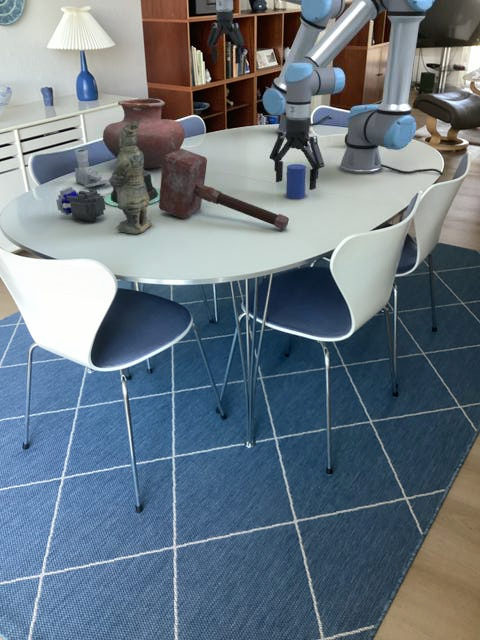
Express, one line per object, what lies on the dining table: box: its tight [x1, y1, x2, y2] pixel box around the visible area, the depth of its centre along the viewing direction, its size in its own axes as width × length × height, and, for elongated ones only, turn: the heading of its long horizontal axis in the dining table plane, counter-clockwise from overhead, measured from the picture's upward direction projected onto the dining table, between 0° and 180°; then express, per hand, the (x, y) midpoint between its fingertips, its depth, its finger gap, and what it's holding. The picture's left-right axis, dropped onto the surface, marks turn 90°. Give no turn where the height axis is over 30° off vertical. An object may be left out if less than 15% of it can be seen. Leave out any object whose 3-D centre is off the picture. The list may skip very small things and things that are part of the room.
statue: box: [108, 121, 153, 235], centre depth 154 cm, size 11×9×30 cm
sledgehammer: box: [158, 148, 290, 231], centre depth 163 cm, size 17×10×40 cm
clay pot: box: [102, 98, 186, 169], centre depth 213 cm, size 30×30×25 cm
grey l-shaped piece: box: [74, 148, 110, 188], centre depth 197 cm, size 9×12×15 cm
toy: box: [56, 186, 107, 222], centre depth 168 cm, size 9×9×15 cm
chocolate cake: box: [103, 168, 160, 207], centre depth 186 cm, size 15×19×20 cm
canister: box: [285, 163, 307, 200], centre depth 183 cm, size 6×6×10 cm
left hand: (226, 62), depth 260 cm, fingers open, 13 cm apart
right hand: (295, 185), depth 183 cm, fingers open, 13 cm apart
